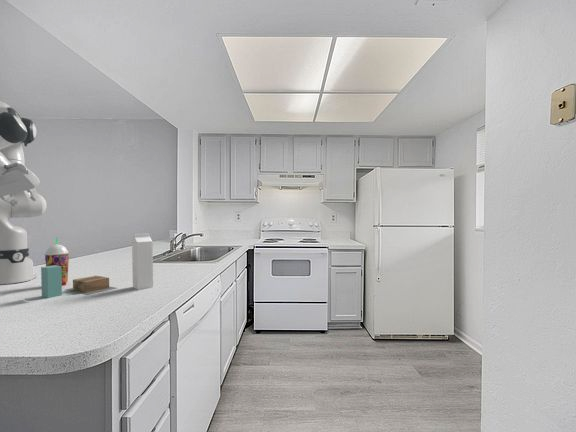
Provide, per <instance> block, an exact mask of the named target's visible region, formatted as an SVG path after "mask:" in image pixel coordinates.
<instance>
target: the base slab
mask: <svg viewBox="0 0 576 432" xmlns="http://www.w3.org/2000/svg"><path fill="white" fill-rule="evenodd" d="M109 286H110V277H106V276H100V275H92V276H87V277H81V278H76V279H75V278H74V279H72V288H73V290H75V291H80V292H84V293H88V292H92V291H97V290H102V289H106V288H109Z"/></svg>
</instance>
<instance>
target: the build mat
mask: <svg viewBox="0 0 576 432" xmlns="http://www.w3.org/2000/svg"><path fill="white" fill-rule="evenodd" d="M116 289H118V287H116V286H115V287H114V286H111V285H109V288H106V289H102V290H97V291H92V292H88V293H84V292H80V291H75V290H73V287H70V288H67V289H64V291H67V292H71V293H76V294H77V293H78V294H81V295H86V296H88V295H93V294H94V295H95V294H99V293H102V292H106V291H107V292H108V291H112V290H116Z"/></svg>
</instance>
